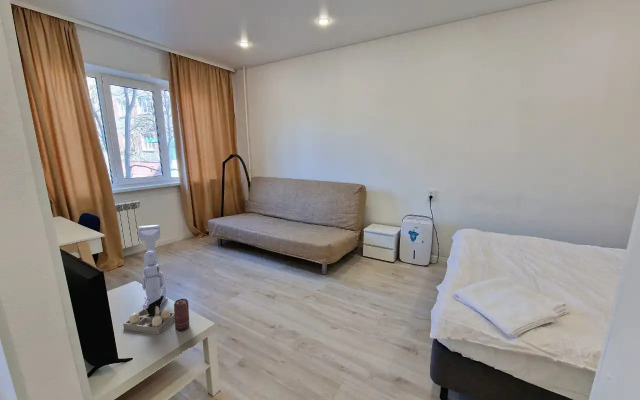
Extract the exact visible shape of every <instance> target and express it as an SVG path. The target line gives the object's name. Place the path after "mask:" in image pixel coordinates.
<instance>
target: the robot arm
mask: <svg viewBox="0 0 640 400" xmlns="http://www.w3.org/2000/svg"><path fill="white" fill-rule="evenodd" d="M137 231H138V238H139V240H140V242H144V244H145V248H146V249H145V250H146V252H145V253H144V254H143V261H144V263H143V264H144V268H143V274H142V277H141V278H142V279H141V285H142V290H143V291H145V296H144V299H145V300H144V303H142V309H146V310H147V311H148V313H149V316H150V317H154V316H155V309H156V306H158V307H159V311H161V305H162V304H163V303H164V302H165V301H167V300H168V297H167V292H166V291H167V290H166V286H165V285H164V284H165V283H164V274H163V272H162V271H160V265H159V258H158V252H157V251H156V241H157V240H160V238H161V226H160V224H152V225H150V224H149V225H139V226H138V229H137ZM166 298H167V299H166Z"/></svg>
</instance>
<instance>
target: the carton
mask: <svg viewBox="0 0 640 400" xmlns="http://www.w3.org/2000/svg"><path fill="white" fill-rule="evenodd" d="M161 312H162V310H160V311H159V313H160V315H159V316H160V317H161ZM137 313H138V314H139V316H140V321H139V322H138V323H136V324H130V318H129V319H128V320H126V321H124V322H123V323H122V325H123V330H128V331H133V332H142V333H149V334H155V335H159V334H161V333H162V332H163V331H164V330H166V328H167V327H168V326H169V325H171V324H172V323H173V322H175V315H174V312H173V311H172V312H171V311H170V318H168V319H167V320H164V319H162V325H161V326H159V327H158V328H157V327H152V319H153V318H150V316H149V313H148V311H147V310H146V309H144V308H142V309H141V310H139V311H138V312H137Z"/></svg>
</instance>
